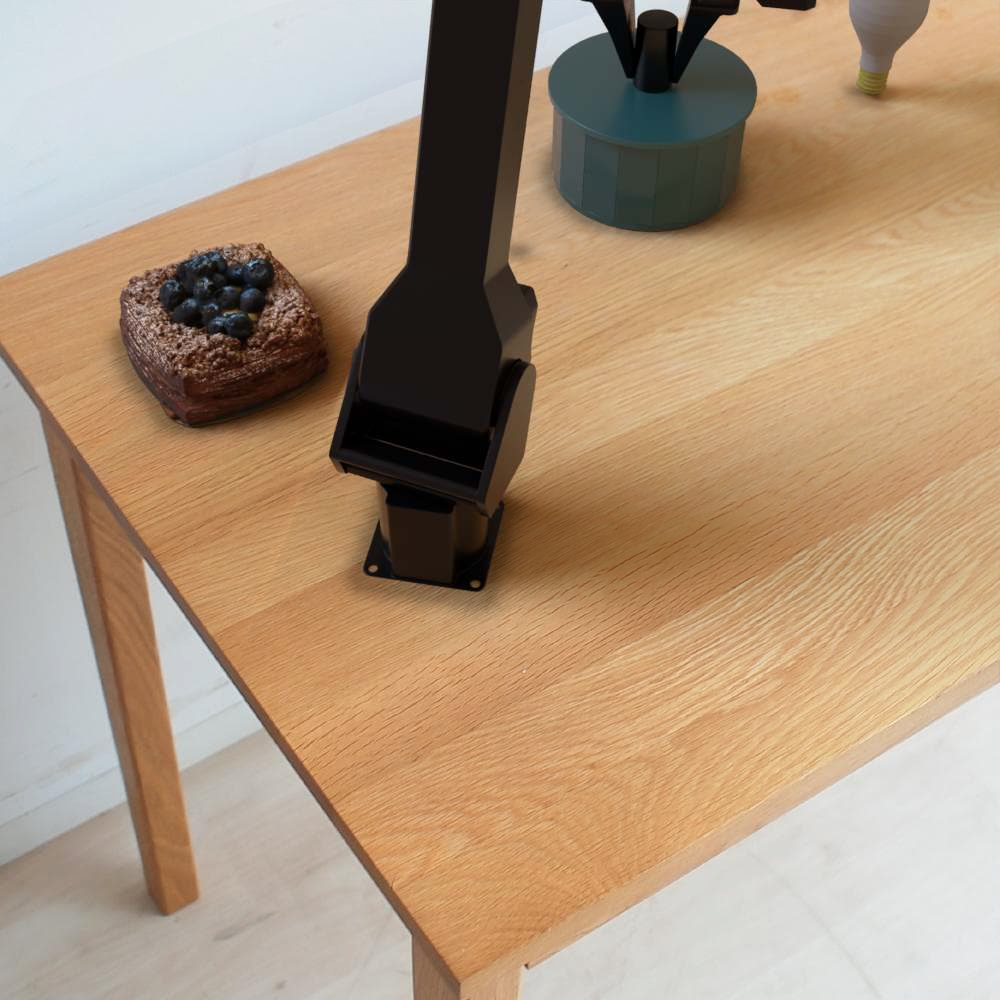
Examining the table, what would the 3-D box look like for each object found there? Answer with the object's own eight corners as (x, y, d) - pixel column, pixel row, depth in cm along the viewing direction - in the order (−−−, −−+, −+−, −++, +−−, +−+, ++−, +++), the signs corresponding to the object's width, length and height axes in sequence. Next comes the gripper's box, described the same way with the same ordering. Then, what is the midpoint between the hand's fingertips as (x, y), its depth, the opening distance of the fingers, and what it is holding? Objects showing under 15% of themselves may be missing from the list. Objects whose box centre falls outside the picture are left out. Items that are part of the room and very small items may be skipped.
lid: (747, 169, 89) (759, 89, 85) (531, 145, 91) (532, 66, 87) (762, 53, 98) (773, -24, 94) (564, 33, 100) (567, -44, 96)
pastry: (181, 445, 82) (163, 370, 78) (103, 326, 89) (82, 250, 85) (352, 375, 86) (344, 299, 82) (265, 265, 93) (253, 190, 88)
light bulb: (817, 83, 107) (841, -45, 99) (878, 66, 108) (906, -62, 101) (859, 121, 104) (887, -8, 96) (922, 103, 105) (954, -26, 98)
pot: (728, 241, 95) (741, 158, 90) (538, 219, 96) (540, 136, 91) (743, 132, 103) (755, 50, 98) (568, 113, 104) (571, 31, 99)
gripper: (845, -211, 86) (804, 27, 98) (537, -235, 88) (532, 0, 100) (839, -127, 79) (795, 119, 91) (503, -156, 81) (503, 88, 93)
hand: (653, 77), depth 94 cm, fingers closed on lid, 2 cm apart
